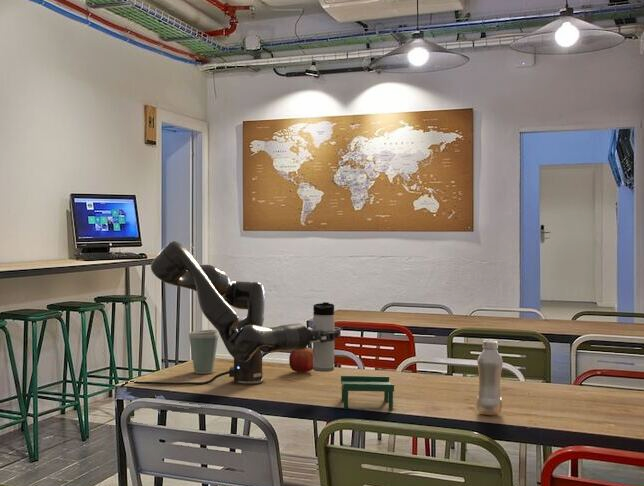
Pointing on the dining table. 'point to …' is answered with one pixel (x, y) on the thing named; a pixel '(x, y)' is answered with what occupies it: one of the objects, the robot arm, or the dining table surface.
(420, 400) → the dining table surface
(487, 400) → the plastic bottle
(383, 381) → the stand
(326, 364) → the travel mug
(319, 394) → the dining table surface
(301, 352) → the fruit
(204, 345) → the disposable coffee cup
